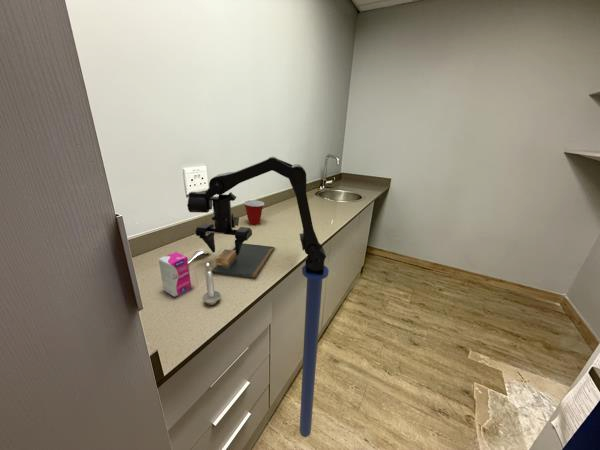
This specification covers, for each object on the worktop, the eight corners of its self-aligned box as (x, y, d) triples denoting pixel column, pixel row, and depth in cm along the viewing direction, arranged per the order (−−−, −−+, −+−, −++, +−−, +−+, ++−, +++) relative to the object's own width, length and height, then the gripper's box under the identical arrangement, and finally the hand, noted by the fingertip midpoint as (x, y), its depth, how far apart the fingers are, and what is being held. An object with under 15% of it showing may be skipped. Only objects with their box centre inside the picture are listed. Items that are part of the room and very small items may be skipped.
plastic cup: (263, 227, 128) (262, 205, 124) (242, 226, 128) (241, 204, 124) (266, 220, 138) (265, 200, 134) (247, 219, 138) (246, 199, 134)
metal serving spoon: (167, 268, 79) (157, 265, 81) (168, 278, 80) (158, 274, 82) (211, 248, 97) (202, 245, 98) (212, 256, 98) (203, 253, 99)
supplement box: (175, 298, 71) (169, 264, 67) (163, 291, 74) (157, 258, 70) (192, 288, 76) (187, 256, 72) (180, 282, 79) (175, 251, 75)
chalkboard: (274, 248, 104) (274, 246, 104) (255, 279, 82) (255, 276, 81) (239, 245, 106) (239, 242, 106) (211, 273, 84) (211, 271, 84)
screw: (213, 309, 67) (199, 305, 69) (224, 299, 71) (211, 295, 73) (208, 268, 63) (193, 265, 64) (220, 260, 67) (206, 257, 68)
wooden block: (236, 259, 92) (236, 250, 91) (228, 269, 85) (227, 259, 84) (225, 258, 93) (224, 249, 91) (216, 267, 86) (215, 257, 85)
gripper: (256, 208, 88) (257, 246, 94) (209, 204, 91) (213, 241, 96) (245, 217, 78) (247, 260, 83) (191, 212, 81) (197, 254, 86)
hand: (225, 253), depth 88 cm, fingers open, 9 cm apart
